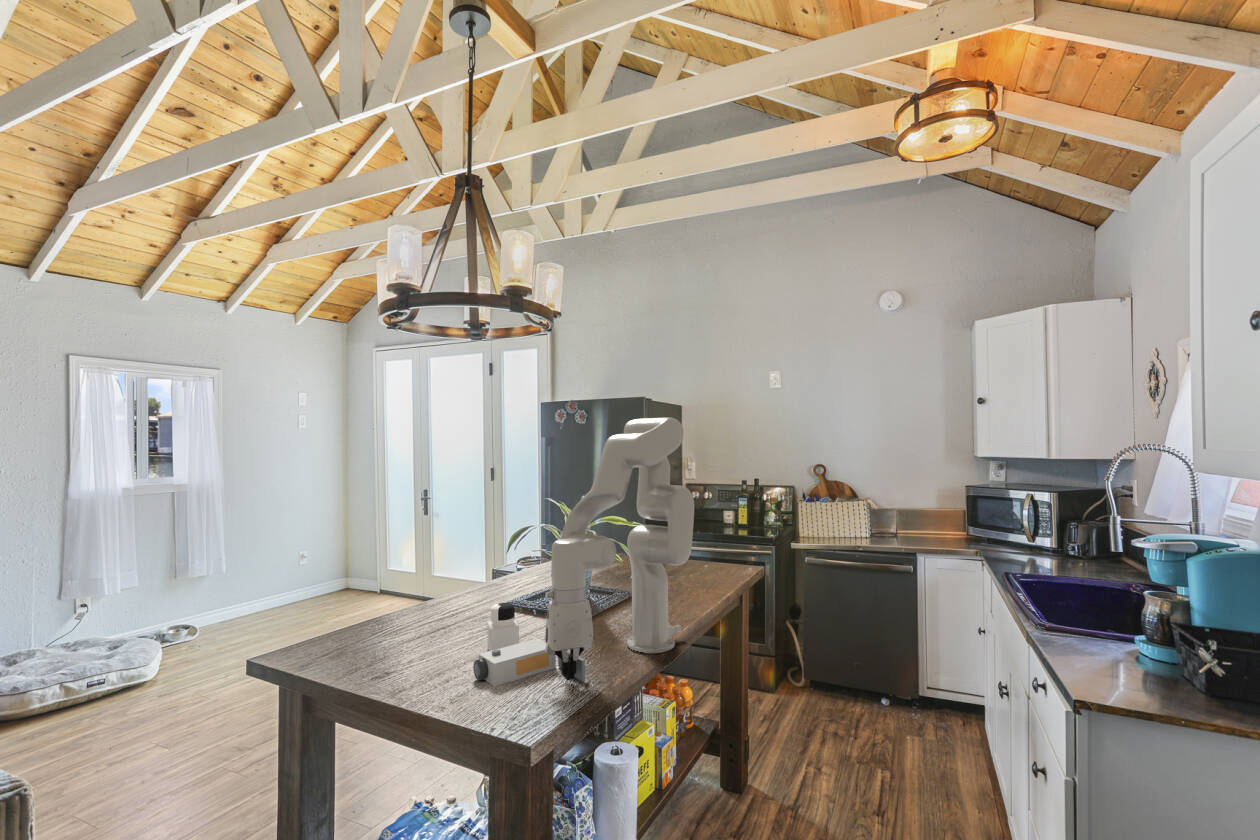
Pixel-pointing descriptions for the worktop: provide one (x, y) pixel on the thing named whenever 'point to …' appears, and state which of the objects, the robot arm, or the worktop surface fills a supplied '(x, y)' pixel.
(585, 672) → the side door
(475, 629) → the worktop surface
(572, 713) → the worktop surface
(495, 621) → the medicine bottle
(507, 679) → the camera body
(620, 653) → the worktop surface
